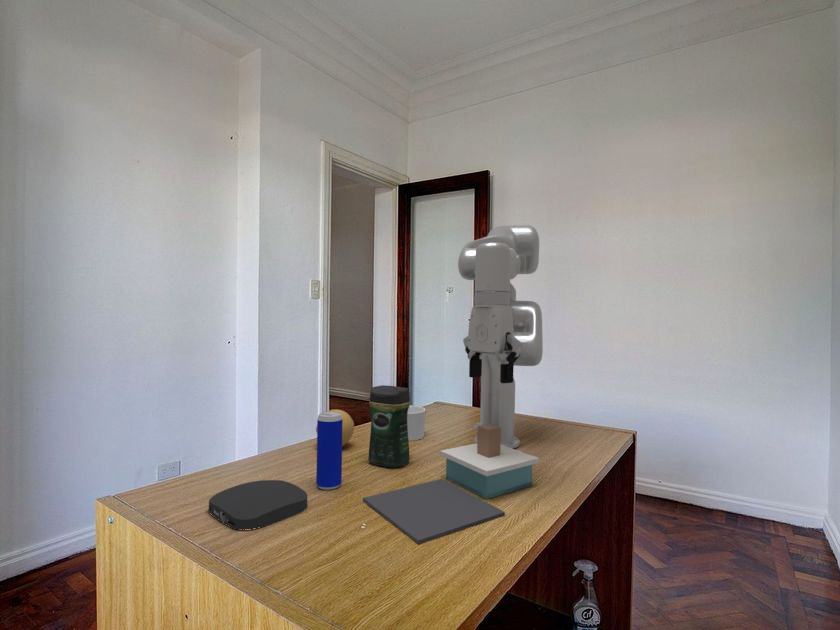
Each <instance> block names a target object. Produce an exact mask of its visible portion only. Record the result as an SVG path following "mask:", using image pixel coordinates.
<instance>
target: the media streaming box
mask: <svg viewBox="0 0 840 630" xmlns="http://www.w3.org/2000/svg"><path fill="white" fill-rule="evenodd" d="M307 508H308V493H307V492H306V491H305V489H302V488H301V487H300V486H297V485H296V484H293V483H291V482H289V481H285V480H279V479H266V480H264V479H263V480H262V479H261V480H255V481H249V482H244V483H241V484H238V485H233V486H232V487H231V486H230V488H226V489H224V490H222V491H220V492H216V494H215V495H213V496H211V497H210V498H209V500H208V513H209V512H210V513H211V514H212V515H213V516H215V517H216V518H217V519H219V520H220V521H222V522H224V523H225V524H227V525H229V526H230V527H232V528H235V529H242V530H243V529H244V530H245V529H253V528H258V527H261V528H263V527H262V526H264V527H266V526H265V525H267V526H269V525H268V524H270V525H272V523H273V524H275V523H278V522H280V521H282V519H283V520H285V518H286V519H287V518H291V517H294V516H296V515H298V514H299V513H302V512H304V511H306V509H307ZM211 514H210V515H211ZM212 515H211V516H212ZM213 516H212V517H213ZM216 518H215V519H216ZM217 519H216V520H217ZM219 520H218V521H219ZM220 521H219V522H220ZM277 521H278V522H277ZM222 522H221V523H222ZM274 522H275V523H274ZM225 524H224V525H225ZM227 525H226V526H227ZM230 527H229V528H230ZM232 528H231V529H232Z"/></svg>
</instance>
